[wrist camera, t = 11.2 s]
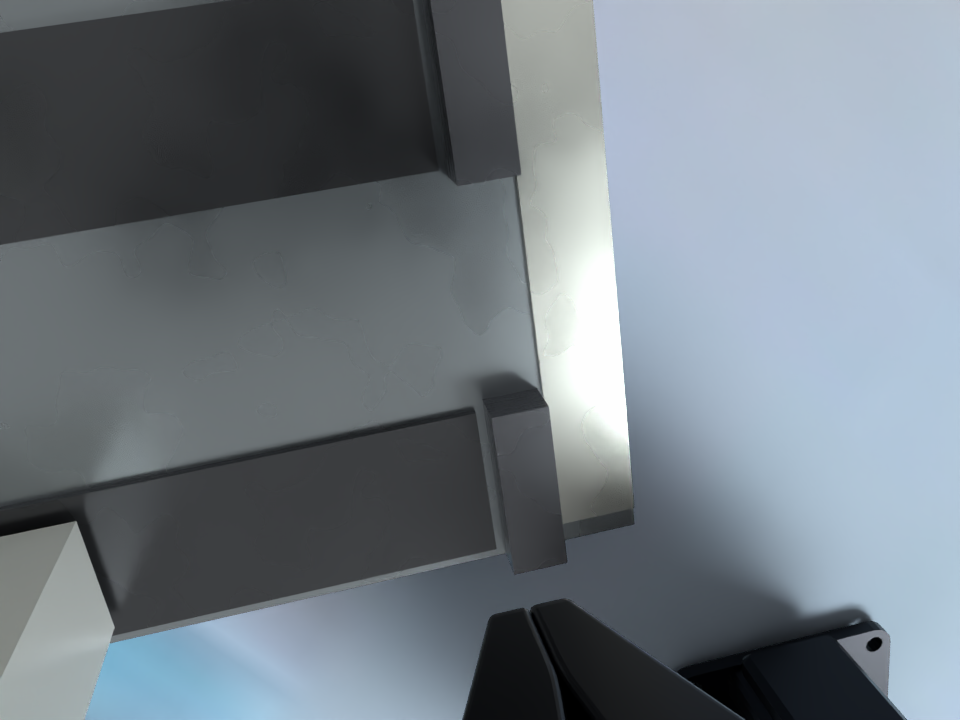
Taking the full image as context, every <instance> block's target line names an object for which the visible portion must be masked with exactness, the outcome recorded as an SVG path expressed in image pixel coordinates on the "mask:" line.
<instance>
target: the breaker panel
mask: <svg viewBox="0 0 960 720" xmlns="http://www.w3.org/2000/svg"><path fill="white" fill-rule="evenodd" d="M633 508H634V498H633V486H632V474H631V462H630V449H629V437H628V425H627V413H626V400H625V388H624V376H623V364H622V351H621V339H620V327H619V315H618V303H617V290H616V278H615V266H614V254H613V241H612V229H611V217H610V205H609V192H608V180H607V168H606V156H605V144H604V131H603V119H602V107H601V95H600V82H599V70H598V58H597V46H596V33H595V21H594V9H593V0H0V537H2V536H7V535H12V534H16V533H21V532H26V531H31V530H36V529H40V528H45V527H50V526H55V525H60V524H64V523H69V522H74V521H76V522H77V524H78V527H79V530H80V533H81V536H82V538H83V541H84V544H85V547H86V549H87V552H88V555H89V558H90V560H91V563H92V566H93V569H94V572H95V574H96V577H97V580H98V583H99V585H100V588H101V591H102V594H103V596H104V599H105V602H106V605H107V608H108V610H109V613H110V616H111V619H112V621H113V624H114V627H115V628H114V631H113V634H112V637H111V640H110V643H113V642H118V641H122V640H126V639H131V638H135V637H140V636H144V635H148V634H153V633H157V632H162V631H166V630H170V629H175V628H179V627H184V626H188V625H192V624H197V623H201V622H206V621H210V620H214V619H219V618H223V617H228V616H232V615H237V614H241V613H245V612H250V611H254V610H259V609H263V608H267V607H272V606H276V605H281V604H285V603H289V602H294V601H298V600H303V599H307V598H311V597H316V596H320V595H325V594H329V593H333V592H338V591H342V590H347V589H351V588H355V587H360V586H364V585H369V584H373V583H377V582H382V581H386V580H391V579H395V578H399V577H404V576H408V575H413V574H417V573H421V572H426V571H430V570H435V569H439V568H444V567H448V566H452V565H457V564H461V563H466V562H470V561H474V560H479V559H483V558H488V557H492V556H496V555H501V554H505V553H506V555H507V557H508V560H509V562H510V565H511V568H512V570H513V573H514V575H516V574H520V573H524V572H529V571H533V570H537V569H542V568H546V567H550V566H555V565H559V564H564V563H567V555H566V547H565V540H567V539H571V538H576V537H580V536H584V535H589V534H593V533H598V532H602V531H606V530H611V529H615V528H620V527H624V526H629V525H633V524H634V515H633Z"/></svg>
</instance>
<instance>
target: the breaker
mask: <svg viewBox="0 0 960 720" xmlns="http://www.w3.org/2000/svg"><path fill="white" fill-rule="evenodd" d="M114 628H115V627H114V624H113V621H112V619H111V616H110V613H109V610H108V608H107V605H106V602H105V599H104V596H103V594H102V591H101V588H100V585H99V583H98V580H97V577H96V574H95V572H94V569H93V566H92V563H91V560H90V558H89V555H88V552H87V549H86V547H85V544H84V541H83V538H82V536H81V533H80V530H79V527H78V524H77V522H76V521H74V522H69V523H64V524H60V525H55V526H50V527H45V528H40V529H36V530H31V531H26V532H21V533H16V534H12V535H7V536H2V537H0V720H84V719H85V716H86V713H87V710H88V707H89V704H90V701H91V698H92V695H93V692H94V689H95V686H96V683H97V680H98V677H99V674H100V670H101V667H102V664H103V661H104V658H105V655H106V652H107V649H108V646H109V643H110V640H111V637H112V634H113V631H114Z"/></svg>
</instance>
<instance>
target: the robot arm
mask: <svg viewBox="0 0 960 720" xmlns="http://www.w3.org/2000/svg"><path fill="white" fill-rule="evenodd" d="M870 639H871V640H870ZM869 640H870V641H869ZM889 657H890V636H889V634H888V633H887V632H886V631H885V630H884V629H883V628H882V627H881V626H880V625H879V624H878V623H876V622H873V621H869V622H863V623H859V624H855V625H851V626H847V627H843V628H839V629H835V630H831V631H827V632H823V633H819V634H815V635H811V636H807V637H803V638H799V639H795V640H791V641H788V642H784V643H780V644H776V645H772V646H768V647H764V648H760V649H756V650H752V651H748V652H744V653H740V654H736V655H732V656H728V657H724V658H720V659H716V660H712V661H708V662H704V663H700V664H696V665H692V666H688V667H685V668H683V669H680V670H679V671H678V672H677V673H676V672H675V671H673V670H672V669H670V668H669V667H667V666H666V665H665V664H663V663H662V662H660V661H659V660H657V659H656V658H654V657H653V656H651V655H650V654H648V653H647V652H646V651H644V650H643V649H641V648H640V647H638V646H637V645H635V644H634V643H632V642H631V641H629V640H628V639H627V638H625V637H624V636H622V635H621V634H619V633H618V632H616V631H615V630H613V629H612V628H610V627H609V626H608V625H606V624H605V623H603V622H602V621H600V620H599V619H597V618H596V617H594V616H593V615H591V614H590V613H589V612H587V611H586V610H584V609H583V608H581V607H580V606H578V605H577V604H575V603H574V602H572V601H571V600H569V599H559V600H554V601H550V602H546V603H541V604H537V605H534V606H533V607H532V608H531V610H530V612H529V611H528V610H527V609H524V608H520V609H515V610H511V611H507V612H502V613H498V614H494V615H492V616H491V617H490V619H489V621H488V624H487V628H486V631H485V635H484V639H483V643H482V647H481V650H480V654H479V658H478V662H477V666H476V669H475V673H474V677H473V681H472V685H471V688H470V692H469V696H468V700H467V704H466V707H465V711H464V715H463V719H462V720H907V719H906V718H905V717H904V716H903V715H902V713H901V712H900V711H899V710H898V709H897V708H896V707H895V705H894V704H893V703H892V702H891V701H890V700H889V699H888V678H889ZM692 683H694V684H692Z"/></svg>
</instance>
